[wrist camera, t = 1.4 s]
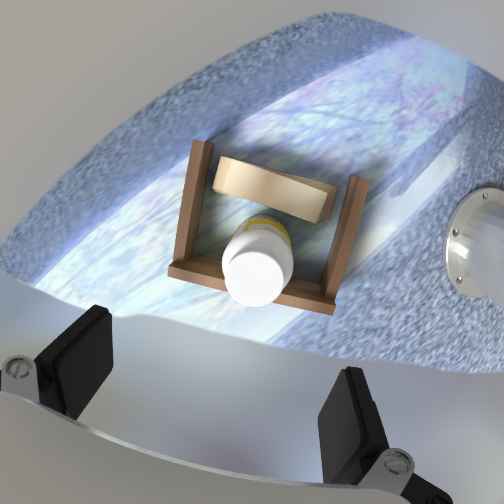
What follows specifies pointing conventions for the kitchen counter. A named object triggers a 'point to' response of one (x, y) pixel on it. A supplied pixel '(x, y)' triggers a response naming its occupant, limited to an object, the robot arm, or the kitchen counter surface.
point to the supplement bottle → (258, 261)
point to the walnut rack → (211, 269)
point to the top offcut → (274, 190)
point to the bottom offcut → (333, 188)
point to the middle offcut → (226, 162)
